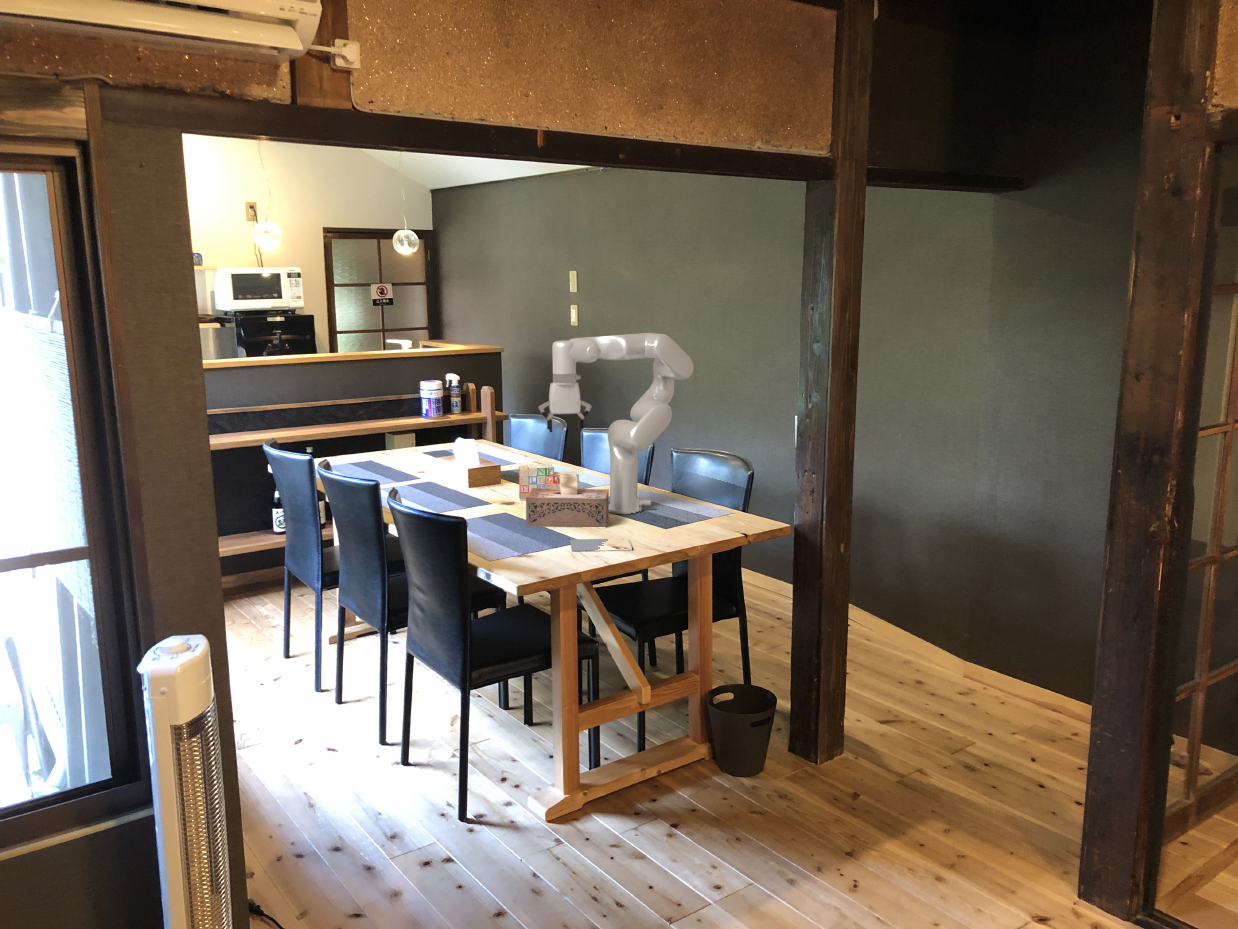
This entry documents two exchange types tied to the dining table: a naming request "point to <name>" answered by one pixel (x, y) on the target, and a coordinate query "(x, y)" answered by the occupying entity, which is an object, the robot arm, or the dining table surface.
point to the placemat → (586, 544)
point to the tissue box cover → (567, 508)
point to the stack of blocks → (539, 478)
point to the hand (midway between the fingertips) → (565, 431)
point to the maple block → (568, 484)
